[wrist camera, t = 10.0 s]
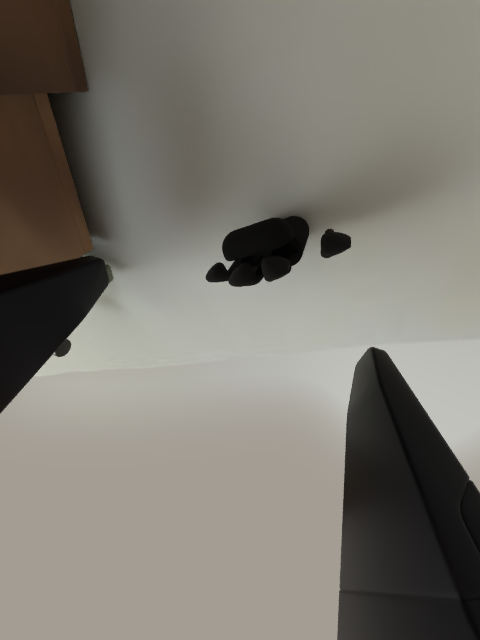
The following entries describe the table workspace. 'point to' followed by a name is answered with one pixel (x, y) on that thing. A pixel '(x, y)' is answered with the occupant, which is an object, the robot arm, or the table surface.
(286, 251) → the wireless earbuds
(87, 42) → the table surface
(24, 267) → the drawer
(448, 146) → the table surface
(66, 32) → the cabinet
